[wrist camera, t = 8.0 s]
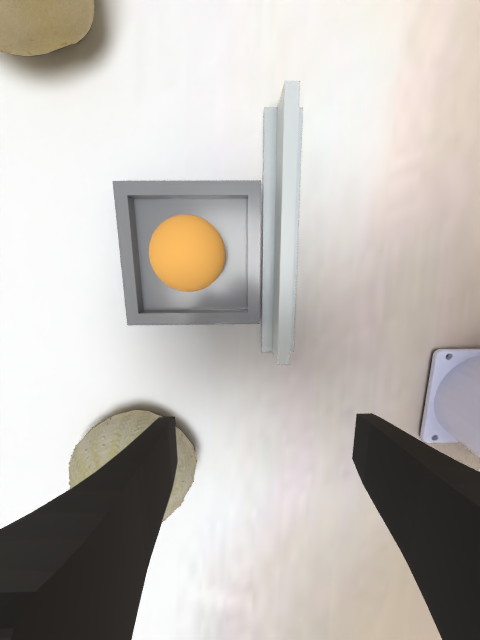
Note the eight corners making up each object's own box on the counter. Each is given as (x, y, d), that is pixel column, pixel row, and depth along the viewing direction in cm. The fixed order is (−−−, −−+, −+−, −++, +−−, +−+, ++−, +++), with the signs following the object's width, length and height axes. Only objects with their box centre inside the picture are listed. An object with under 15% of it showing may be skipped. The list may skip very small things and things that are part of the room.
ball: (225, 220, 18) (224, 208, 14) (226, 287, 19) (225, 296, 15) (157, 219, 18) (134, 207, 14) (161, 287, 19) (141, 296, 15)
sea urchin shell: (43, 433, 20) (70, 478, 14) (141, 383, 25) (189, 401, 20) (87, 530, 22) (126, 602, 16) (169, 464, 27) (221, 502, 22)
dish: (258, 187, 18) (260, 180, 17) (257, 318, 20) (259, 323, 19) (123, 188, 18) (112, 181, 16) (136, 319, 20) (127, 325, 18)
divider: (301, 110, 17) (315, 80, 14) (292, 349, 21) (301, 364, 18) (263, 110, 17) (269, 80, 14) (261, 350, 21) (265, 365, 18)
